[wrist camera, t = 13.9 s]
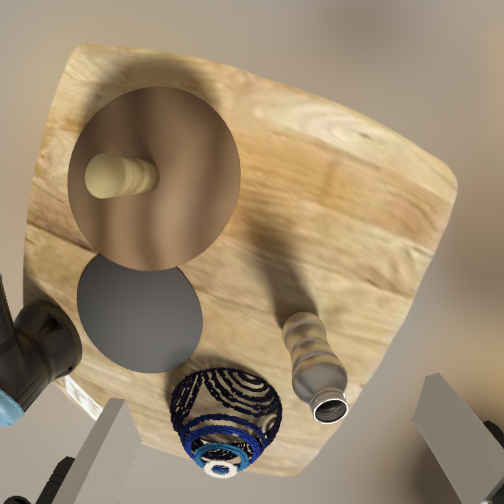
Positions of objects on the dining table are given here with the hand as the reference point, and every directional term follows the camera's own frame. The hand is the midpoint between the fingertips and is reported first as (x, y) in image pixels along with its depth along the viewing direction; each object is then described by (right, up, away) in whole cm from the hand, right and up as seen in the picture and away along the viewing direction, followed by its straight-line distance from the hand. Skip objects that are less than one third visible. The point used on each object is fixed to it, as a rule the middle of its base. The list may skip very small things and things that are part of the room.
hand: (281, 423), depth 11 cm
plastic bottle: (+6, -4, +35) cm, 36 cm away
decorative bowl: (-6, -22, +39) cm, 45 cm away
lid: (-13, +15, +21) cm, 29 cm away
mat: (-20, -3, +34) cm, 39 cm away
